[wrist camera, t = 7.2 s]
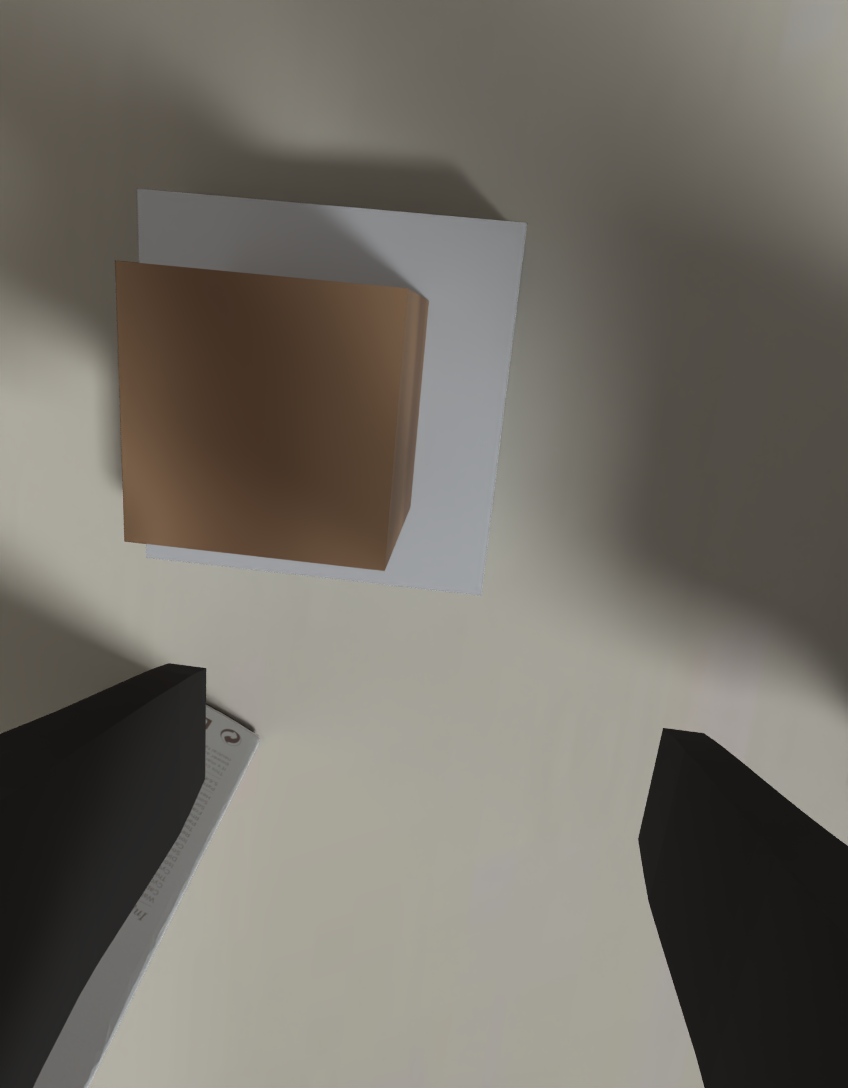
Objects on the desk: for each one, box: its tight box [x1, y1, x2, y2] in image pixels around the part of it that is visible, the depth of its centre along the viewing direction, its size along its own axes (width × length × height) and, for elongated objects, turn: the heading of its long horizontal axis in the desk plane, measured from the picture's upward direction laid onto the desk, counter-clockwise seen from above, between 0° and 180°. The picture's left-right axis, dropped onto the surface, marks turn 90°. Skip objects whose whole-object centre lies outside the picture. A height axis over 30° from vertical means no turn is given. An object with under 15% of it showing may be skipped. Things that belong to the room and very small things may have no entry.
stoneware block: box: [137, 188, 527, 596], centre depth 19 cm, size 9×9×3 cm
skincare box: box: [33, 705, 259, 1088], centre depth 18 cm, size 6×4×12 cm
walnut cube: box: [115, 261, 429, 571], centre depth 15 cm, size 5×5×5 cm
